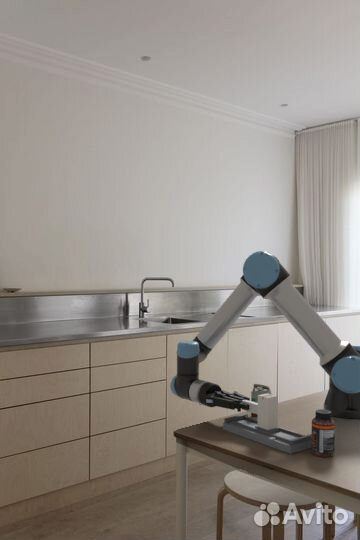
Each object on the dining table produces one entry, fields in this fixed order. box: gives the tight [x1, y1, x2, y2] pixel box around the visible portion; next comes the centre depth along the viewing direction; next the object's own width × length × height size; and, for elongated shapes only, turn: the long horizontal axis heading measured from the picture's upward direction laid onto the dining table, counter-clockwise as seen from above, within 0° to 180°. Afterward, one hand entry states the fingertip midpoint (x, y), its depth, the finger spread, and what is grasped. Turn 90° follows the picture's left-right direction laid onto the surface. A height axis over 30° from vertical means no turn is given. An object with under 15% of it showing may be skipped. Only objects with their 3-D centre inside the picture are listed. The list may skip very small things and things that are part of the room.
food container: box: [250, 383, 272, 420], centre depth 171 cm, size 12×6×10 cm, turn 168°
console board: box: [222, 413, 312, 455], centre depth 152 cm, size 10×26×3 cm, turn 38°
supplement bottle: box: [310, 408, 336, 458], centre depth 139 cm, size 6×6×11 cm
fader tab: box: [255, 393, 281, 433], centre depth 151 cm, size 5×5×10 cm
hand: (259, 409), depth 152 cm, fingers closed
